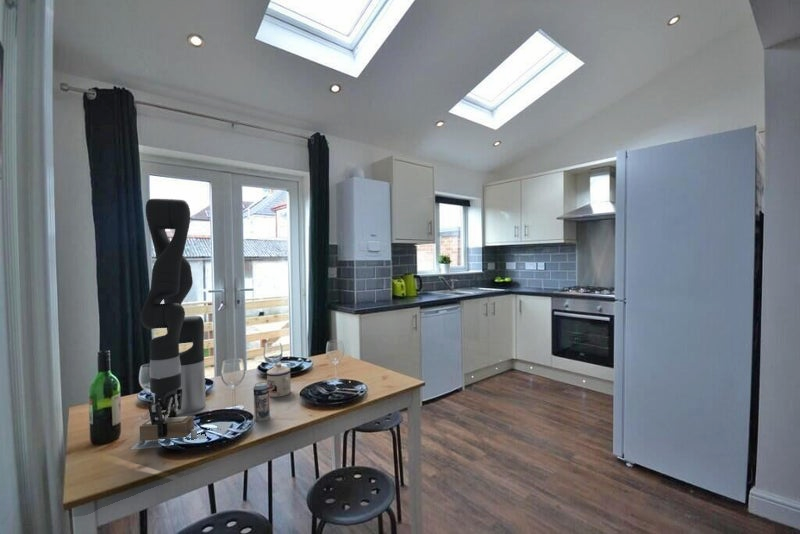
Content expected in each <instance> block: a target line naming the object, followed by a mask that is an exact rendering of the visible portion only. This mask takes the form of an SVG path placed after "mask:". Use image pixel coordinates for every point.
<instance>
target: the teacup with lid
mask: <svg viewBox="0 0 800 534" xmlns="http://www.w3.org/2000/svg"><path fill="white" fill-rule="evenodd" d="M291 372H292V371H291V368H290V367H287V366H284V365H282V364H281V363H276V364H275V365H274V367H272V368H270V369H268V370H267V371H266V380H267V381H266V383H268V385H269V397H271V398H278V397H284V396H286V395H290V394H291V391H292V389H291V388H292V387H291V385H292V384H291V383H292V381H291Z"/></svg>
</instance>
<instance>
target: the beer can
mask: <svg viewBox="0 0 800 534" xmlns="http://www.w3.org/2000/svg"><path fill="white" fill-rule="evenodd" d="M270 407H271V406H270V396H269V385H268V383H267V381H262V382H257V383H254V386H253V408H254V409H253V410H254V414H253V415H254V421H256V422H262V421H266V420H269V419H270V418H271V411H270V410H271V409H270Z"/></svg>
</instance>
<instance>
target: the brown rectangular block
mask: <svg viewBox="0 0 800 534" xmlns="http://www.w3.org/2000/svg"><path fill="white" fill-rule="evenodd" d="M155 420H156V418H155ZM194 420H195V419H194V415H185V416H177V417H171V418H168V417H167V422H166V423H167V436H166V437H161V438H159V437H158V431H157V425H152V424H151V419H150V418H149V419H148V420H147V421H145V422H144V423H143V424H141V425H140V426H139V434H140V441H146V440H158V439H170V438H183V437H187V436H188V435H189V434H190V430H192V429H194V425H195V422H194Z"/></svg>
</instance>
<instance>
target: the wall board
mask: <svg viewBox="0 0 800 534" xmlns="http://www.w3.org/2000/svg"><path fill="white" fill-rule="evenodd" d="M213 424H216V426H217V428H219V430H218V429H217V430H216V431H217V433H222V434H223V433H224V434H226V432H227V431H228V430H229V428H231V426H232V424H234V421H229V422H226V421H225V422H218V423H217V422H216V423H215V422H214V423H213ZM207 429H209V428H207ZM220 429H221V430H220ZM210 430H211V428H210ZM190 433H191V438H189V437H186V438H185V439H187V440H190V439H191V440H194V439H197V438H199V439H201V438H202V439H203V438H204V439H205V438H207V436H205V434H202V435H201V433H200V434H198V435H199V436H197V429H192V430H190ZM137 440H138V441H137V443H135V445H133V446H131V448H129V451H130V450H132V451H133V450H140V449H141V450H142V449H143V450H144V449H153V448H154V449H155V448H163V447H162V446H160V445H159V443H158V440H146V441H140V433H138V434H137Z"/></svg>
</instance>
